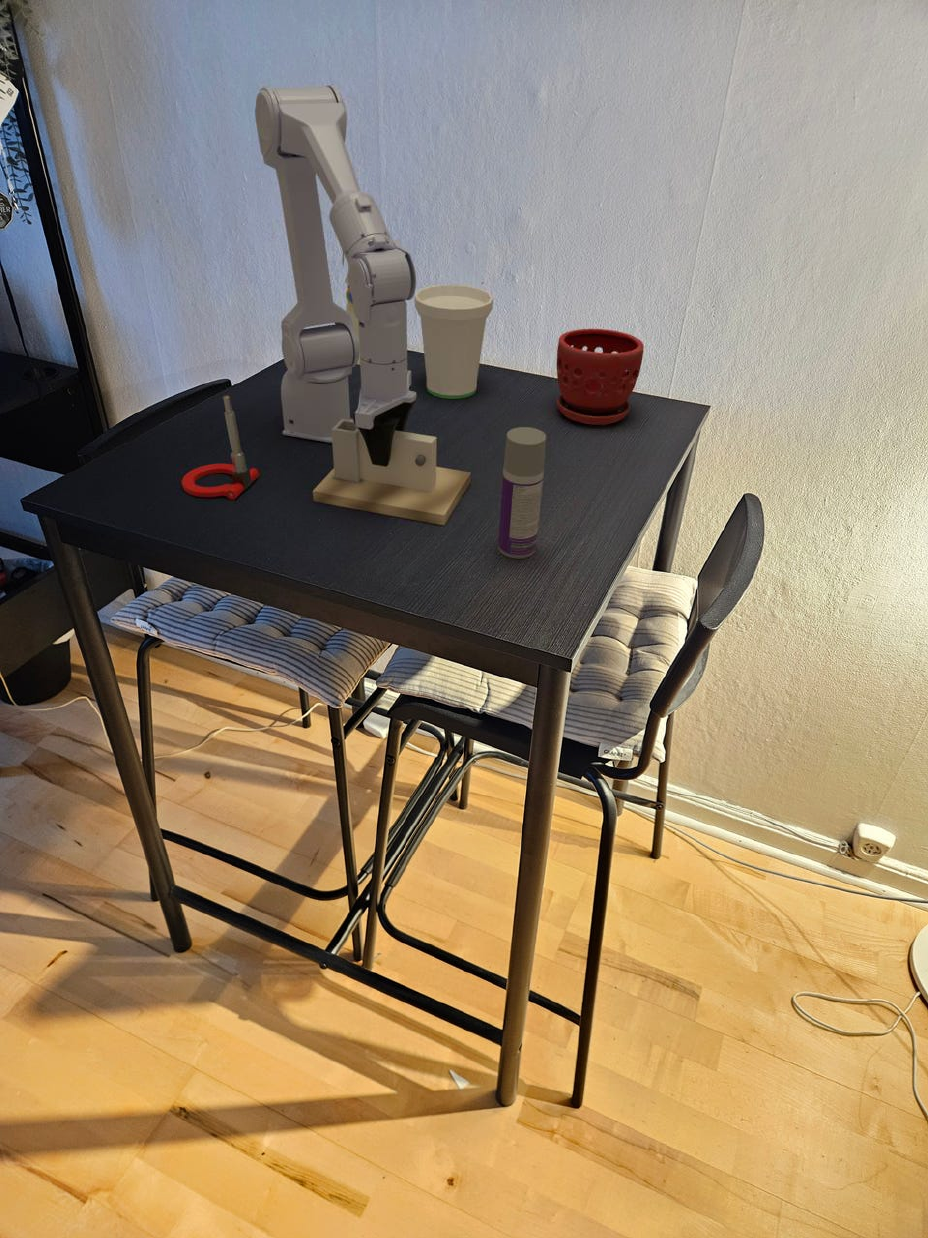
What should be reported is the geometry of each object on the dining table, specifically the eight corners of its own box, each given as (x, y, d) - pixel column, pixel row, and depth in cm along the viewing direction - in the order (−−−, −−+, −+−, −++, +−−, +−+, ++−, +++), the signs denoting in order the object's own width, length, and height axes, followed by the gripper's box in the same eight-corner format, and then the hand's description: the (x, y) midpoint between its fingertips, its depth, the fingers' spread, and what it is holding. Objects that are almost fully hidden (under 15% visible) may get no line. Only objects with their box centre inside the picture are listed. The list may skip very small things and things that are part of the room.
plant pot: (649, 419, 134) (662, 345, 126) (587, 437, 128) (597, 360, 120) (595, 390, 142) (605, 319, 135) (534, 406, 136) (541, 333, 129)
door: (334, 477, 112) (331, 429, 108) (344, 466, 114) (341, 418, 110) (429, 494, 109) (430, 445, 105) (437, 482, 112) (438, 434, 107)
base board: (313, 501, 110) (310, 469, 107) (349, 461, 119) (347, 430, 116) (444, 525, 106) (444, 492, 103) (470, 482, 115) (471, 451, 112)
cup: (488, 405, 136) (494, 310, 126) (412, 402, 136) (411, 306, 126) (488, 376, 145) (493, 285, 136) (416, 373, 145) (416, 282, 136)
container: (495, 538, 104) (503, 426, 95) (532, 537, 105) (543, 426, 95) (500, 559, 100) (508, 445, 91) (538, 558, 101) (550, 444, 92)
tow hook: (171, 495, 111) (233, 504, 108) (147, 402, 103) (214, 410, 101) (204, 467, 117) (263, 475, 115) (184, 378, 109) (248, 384, 107)
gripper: (393, 382, 95) (395, 487, 103) (433, 340, 106) (432, 438, 114) (336, 373, 96) (342, 478, 105) (381, 333, 107) (384, 430, 116)
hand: (386, 457), depth 110 cm, fingers open, 4 cm apart
